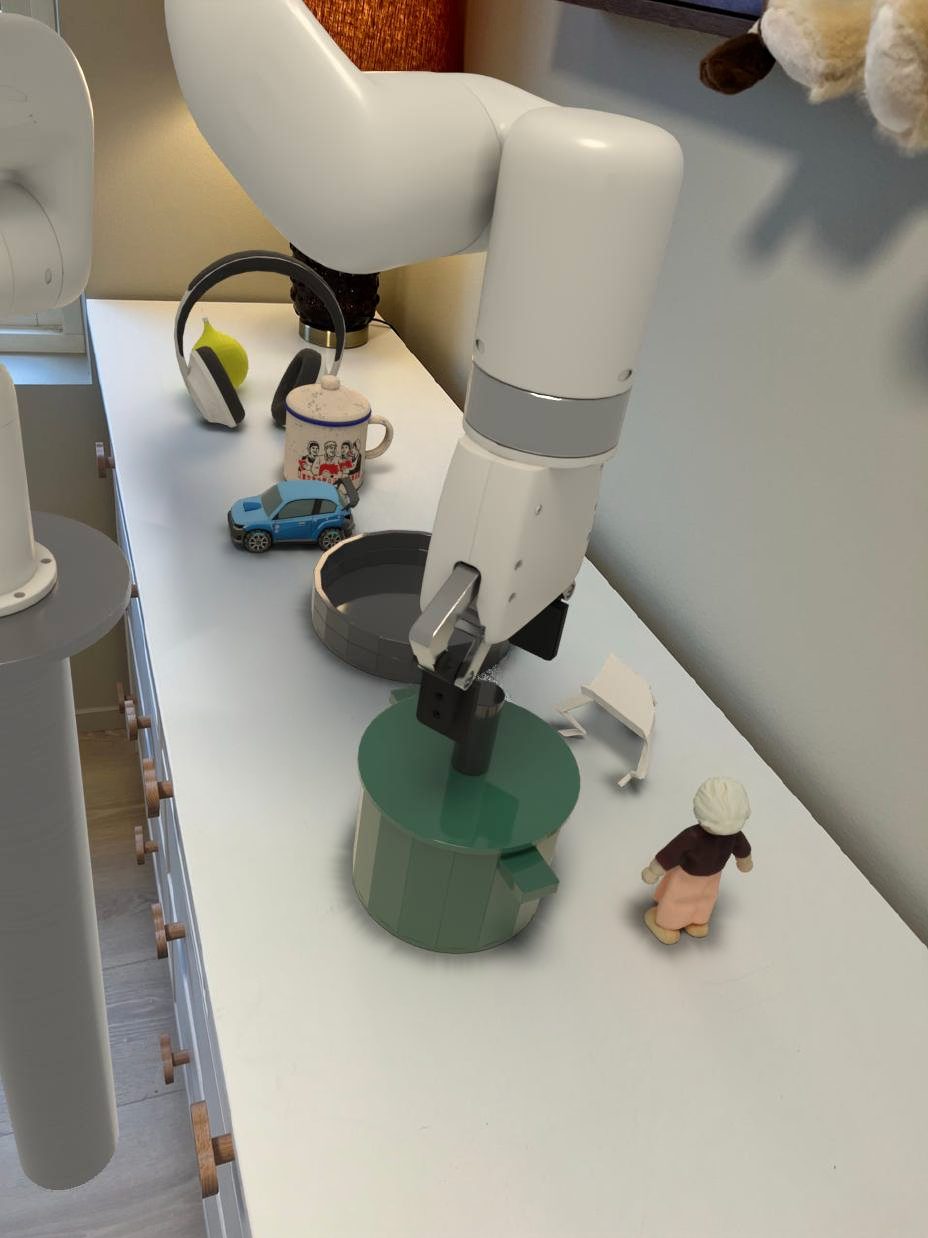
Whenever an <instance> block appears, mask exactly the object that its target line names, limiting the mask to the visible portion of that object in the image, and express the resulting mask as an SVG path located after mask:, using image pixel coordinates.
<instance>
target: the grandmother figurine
mask: <svg viewBox="0 0 928 1238" xmlns="http://www.w3.org/2000/svg"><path fill="white" fill-rule="evenodd" d="M696 791H697V792H696V793H695V795H694V797H693V800H692V802H693V814H694V817H695V819H696V821H697V823H696V824H693V825H691V826H688V827H686V828H684V829H683V830H682V831H680V832H679V833H678V834H677V835H675V837H673V838H672V839H671V840H670V841H669V842H668V843H667V844H666V845H665V846H663V848H661V849H660V850H659V851H658V852H657V853H656V854H655V856H654V858H653V859H652V860H651V862H650V863H649V865H648V866H647V867H645V868H643V870H641V874H640V875H641V880H642V881H643V882H644V883H645V884H647V885H655V884H657V882H658V881H659V878H660V877H662V878H661V880H660V881H659V883H658V885H657V887H656V889H655V891H654V893H653V900H654V902H656V903H658V904H657V906H653V907H651V908H650V909H648V910H647V911H646V912H645V913H644V915H643V921H644V923H645V925H646V927H647V928H648V929H649V930H650V931H651V932H652V934H653V935H654V936H655V937H656V938H657V939H658V940H659V941H660V942H661V943H663V944H665V945H673V944H676V943H678V942H680V939H681V932H680V929H682V928H684V930H685V931H686V932H687V934H689V935H690V936H692V937H695V938H702V937H705V936H707V935H708V933H709V923H708V922H709V920H710V917H711V914H712V912H713V909H714V906H715V903H716V902H717V899H718V895H719V887H720V882H721V879H722V872H723V870H724V868H725V867H726V864H727V862H729V860H730V858H731V856H732V855H733V856H734V859H735V863H736V864H735V865H736V867H737V869H738V871H739V872H741V873H744V874H746V873H749V872H751V871H752V869H753V868H754V863H753V859H752V856H753V855H752V846H751V844H750V842H749V841H748V839H747V837H746V835H745V834H744V832H743V831H742V830H743V828H744V826H745V825H746V821H747V820H748V819H749V818H750V816H751V814H752V809H751V806H750V799H749V796H748V793H747V791H746V789H745V786H744V784H742V783H741V782H740V781H739V780H737V779H735V778H733V777H730V776H717V777H711V778H707V779H706V780H705V781H703V782H702V783H701V785H700V786H699V787H698V788H697V790H696Z"/></svg>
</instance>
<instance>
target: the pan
mask: <svg viewBox="0 0 928 1238" xmlns="http://www.w3.org/2000/svg"><path fill="white" fill-rule="evenodd" d="M431 535H432V532H429V531H425V530H414V529H413V530H412V529H411V530H410V529H385V530H376V531H368V532H362V533H360V534H357V535H353V536H350V537H348V538H347V539H346V538H344V540H343V541H340V542H339V543H337V544H336V545H334V546H333V547H332V548H330V549H329V550H328V551H327V550H326V551H325V552H323V553H322V554H321V556H320V558H319V560H318V561H317V564H316V565H315V567H314V569H313V575H312V588H311V589H312V590H311V602H310V603H311V621H312V626H313V628H314V631H315V633H316V635H317V636H318V638H319V639H320V641H321V642H322V643H323V645H324V646H325V647H327V648H328V650H330V652H332V653H333V654H334V655H335V656H337V657H338V658H339V659H341V660H342V661H344V662H346V663H347V664H349V665H350V666H353V667H355V668H357V669H359V670H361V671H363V672H366V673H368V674H371V675H373V676H376V677H381V678H384V679H387V680H392V681H397V682H403V683H411V684H412V683H413V684H421V677H422V670H423V669H421V668H419V667H418V664H416V663H415V662H414V661H413V650H412V646H411V643H410V640H409V632H410V630H411V628H412V626H413V624H414V623H415V622H416V620H417V619H418V618H419V616H420V615H421V614H422V611H421V607H420V597H421V589H422V583H423V577H424V571H425V566H426V560H427V555H428V550H429V545H430V540H431ZM461 618H464V619H466V620H468V621H470V622H472V623H474V624H476V625H478V626H480V627H482V628H483V627H484V626H483V625H481V624H480V620H479V615H478V611H476V610H474V609H472V608H470V607H468V608H467V610H466V611H465V612H464V614H463V615H462V616H461ZM474 639H475V638H473V637H471V636H469V635H467V634H465V633H463V632H461V631H459V630H457V629H455V628H454V630H453V632H452V634H451V636H450V638H449V640H448V647H447V650H448V652H450V653H452V654H454V655H455V656H456V657H457V658H459V659H460V660H461V661H462V662H463V661H464V659H465V657H466V655H467V653H468V651H469V649H470V647H471V645H472V643H473V641H474ZM511 646H512V644H511V643H510V642H509V641H508V639H506V640H504V641H502V642H499V643H496V644H492V645H491V647H490V649H489V651H488V653H487V655H486V657H485V659H484V661H483V663H482V665H481V667H480V669H479V671H478V673H477V675H476V676H478V675H481V674H483V673H485V672H486V671H489V670H491V669H492V668H493V667H495V666H496V665H497V664H498V663H500V662H501V661H502V660H503V658H505V657H506V655H507V653H508V652H509V650H510V648H511Z"/></svg>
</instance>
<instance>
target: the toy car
mask: <svg viewBox="0 0 928 1238" xmlns="http://www.w3.org/2000/svg"><path fill="white" fill-rule="evenodd" d="M341 484H343V486H344V487H345V489H346V492H347V494H344V493H343V492H342V491H341V490H340V489H339V487H340V485H341ZM334 485H337V487H335V486H334ZM346 495H347V496H348V499H347V497H346ZM348 500H349V501H348ZM360 500H361V498H360V496H359V494H358V492H357V489H355V487H354V485H353V482H352V480H351V478H350V476H347V477H345V478H339V479H338V480H337V481H335V482H334V483H333V484H331V483H327V482H324V481H317V480H291V481H287V480H284V481H280V482H278V483H276V484H274V485H272V486H270V487H269V488H267V489H266V490H264V491H263V492H262V493H260V494H257V495H254V496H249V497H244V498H241V499H238V500H237V501H236V502H235V503H233V505H232V506H231V507H230V509H229V510H228V511H227V528H228V533H229V536H230V539H231V541H232V542H233V544H235V545H236V546H245V548H246V549H247V550H248V551H250V552H253V553H255V554H256V553H263V552H264V551H267V550H268V549H269V548H270V547H271V545H312V544H313V545H315V544H319V547H321V549H323V550H326V551H328V550H329V549H330V548H332V547H333V546H334V545H336V544H337V543H339V542H340V541H343V540H345V539H348V538H351V537H352V535H353V532H354V530H355V529H356V523H354V522H355V521H354V515H353V513H352V509H355V508H356V507H357V505H358V504H359V503H360Z"/></svg>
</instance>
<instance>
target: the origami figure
mask: <svg viewBox="0 0 928 1238" xmlns="http://www.w3.org/2000/svg"><path fill="white" fill-rule="evenodd" d="M593 702H596V703H597V704H598V705H599V706H601V707H602V708H603V709H604V710H606V712H608V713H610V714H611V715H612V716H613V717H615V718H616V719H617V720H619V722H620V723H622V724H623V725H625V726H626V727H627V728H629V730H631V731H633V732H634V733H635V734H636V735H637V736H639V737H640V738H641V739H643V740H644V744H643V748H642V751H641V755H640V757H639V758H640V759H639V761H638V766H637V768H636V770H630V771H629V772H628V773H627V774H626V775H625V776H624V777H623V778H621V779H620V780H619V781H618V782H617V784H618V785H619V786H620V788H623V787H624V786H626V785H627V784H628V782H630V781H631V779H632V778H636V779H638V780H642V779H645V778H646V775H647V770H648V766H649V763H650V762H649V761H650V757H651V748H652V741H653V736H654V730H655V725H656V712H655V707H656V706H657V705H658V702H657V700H656V698H655V696H654V695H653V693H652V684H651V683H650V682H648V681H646V680H645V679H644V678H643V677H641V676H640V675H639V674H638V673H637V672H635V671H634V670H633V668H631V667H629V665H627V664H626V662H624V661H623V660H622V659H621V658H619V657H618V656H617V655H616V654H615V652H614V651H611V652H610V654H609V655H608V657H607V658H606V660H605V662H604V664H603V666H602V667H601V670H600V671H599V672H598V673H597V675H596V676H595V677H594V678H593V680H592V681H591V682H590V683H589V684H580V693H579V694H576V695H574V696H572V697H569V698H567V699H564V700H562V701H560V702H557V703H555V704H552V705H551V706H552V708H554V709H555V711H557V712H558V713H559V714H560V715H562V717H564V718H565V719H566V720H567V721H568V722H569V723H571V725H573V727H575V728H567V729H560V730H557V733H558V734H560V735H562V736H563V738H564V737H572V736H580V735H586V734H588V732H587V731H586V730H585V728H584V727H582V726H581V725H580V723H579V722H578V721H577V720H576V719H575V718H574V717H573V716H572V715H571V714H570V711H572V710H574V709H578V708H580V707H583V706H585V705H587V704H591V703H593Z"/></svg>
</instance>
